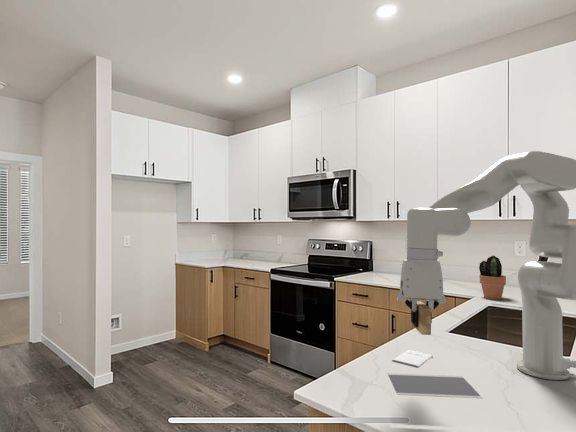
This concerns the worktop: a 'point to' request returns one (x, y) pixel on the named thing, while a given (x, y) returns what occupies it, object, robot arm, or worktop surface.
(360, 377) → the worktop surface
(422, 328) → the wooden block
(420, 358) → the external hard drive
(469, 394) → the mat
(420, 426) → the worktop surface
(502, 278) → the potted plant
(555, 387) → the worktop surface
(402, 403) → the worktop surface
